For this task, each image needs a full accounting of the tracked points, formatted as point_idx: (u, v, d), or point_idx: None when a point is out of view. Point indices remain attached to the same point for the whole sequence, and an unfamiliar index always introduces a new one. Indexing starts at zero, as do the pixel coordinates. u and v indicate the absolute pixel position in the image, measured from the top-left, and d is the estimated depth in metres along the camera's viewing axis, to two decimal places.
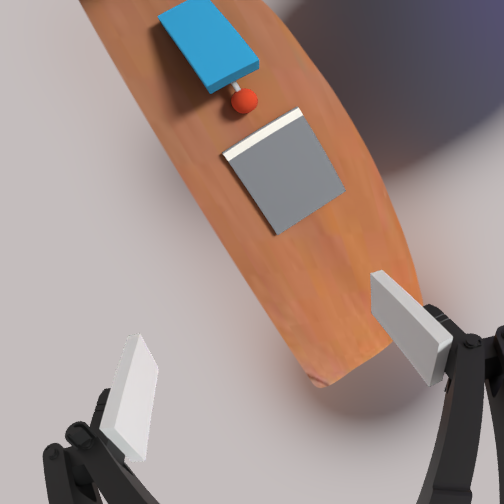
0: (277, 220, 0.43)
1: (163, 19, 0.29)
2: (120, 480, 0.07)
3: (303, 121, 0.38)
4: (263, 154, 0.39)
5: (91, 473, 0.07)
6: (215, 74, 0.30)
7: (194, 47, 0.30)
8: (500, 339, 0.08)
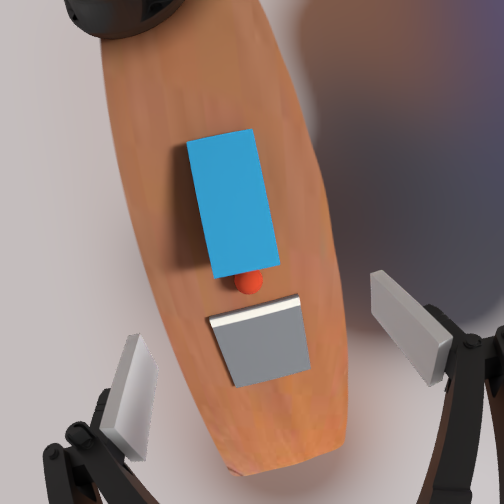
0: (240, 378, 0.43)
1: (192, 151, 0.29)
2: (120, 480, 0.07)
3: (298, 309, 0.40)
4: (248, 330, 0.40)
5: (91, 473, 0.07)
6: (227, 266, 0.31)
7: (215, 218, 0.30)
8: (500, 339, 0.08)
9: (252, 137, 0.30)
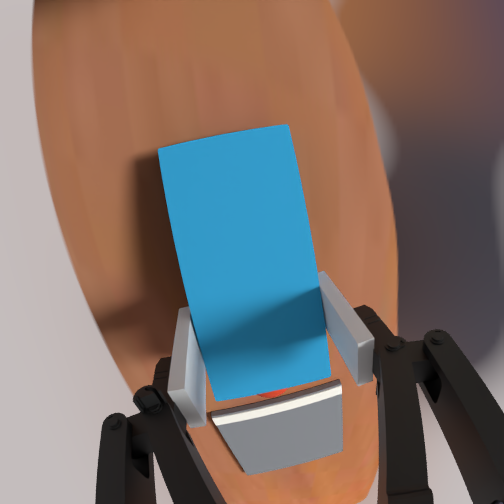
0: (253, 468, 0.29)
1: (168, 168, 0.15)
2: (180, 450, 0.08)
3: (337, 398, 0.25)
4: (266, 425, 0.26)
5: (151, 439, 0.09)
6: (239, 384, 0.16)
7: (216, 302, 0.15)
8: (430, 346, 0.10)
9: (288, 141, 0.15)
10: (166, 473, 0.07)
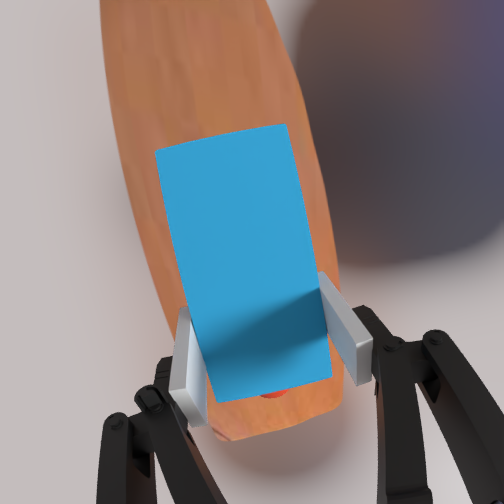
0: None
1: (166, 169, 0.15)
2: (181, 450, 0.08)
3: None
4: None
5: (152, 438, 0.09)
6: (240, 385, 0.16)
7: (215, 303, 0.15)
8: (428, 346, 0.10)
9: (286, 140, 0.15)
10: (167, 473, 0.07)
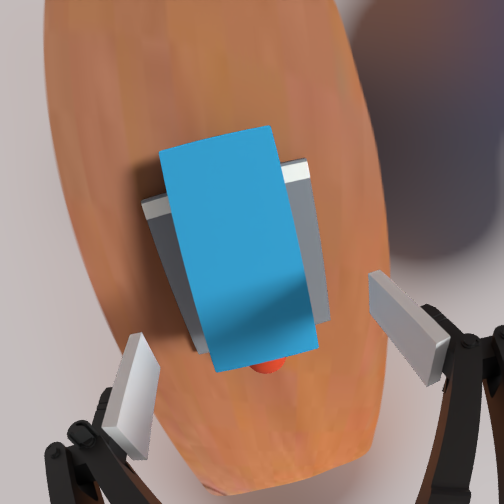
0: None
1: (168, 167, 0.17)
2: (122, 478, 0.07)
3: (306, 188, 0.21)
4: None
5: (93, 472, 0.07)
6: (236, 355, 0.19)
7: (213, 281, 0.18)
8: (498, 339, 0.09)
9: (271, 140, 0.17)
10: (114, 502, 0.06)
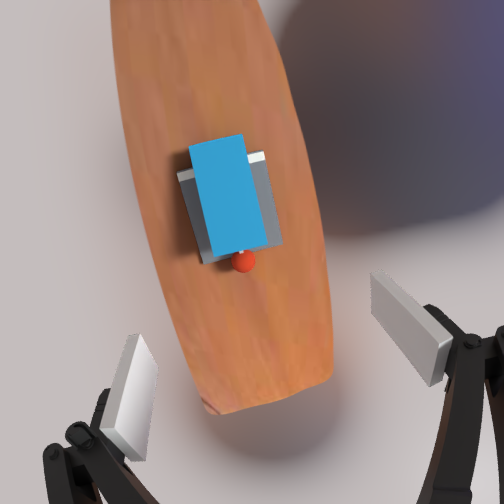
0: (207, 251, 0.44)
1: (193, 153, 0.36)
2: (120, 479, 0.07)
3: (263, 165, 0.40)
4: None
5: (91, 473, 0.07)
6: (224, 246, 0.38)
7: (213, 207, 0.37)
8: (500, 339, 0.08)
9: (242, 140, 0.36)
10: (113, 503, 0.06)
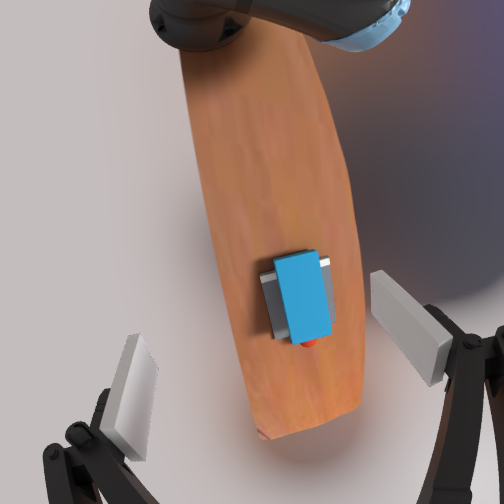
0: (279, 331, 0.54)
1: (278, 267, 0.47)
2: (120, 480, 0.07)
3: (328, 268, 0.51)
4: None
5: (91, 473, 0.07)
6: (301, 337, 0.48)
7: (294, 309, 0.47)
8: (500, 339, 0.08)
9: (317, 256, 0.47)
10: None
